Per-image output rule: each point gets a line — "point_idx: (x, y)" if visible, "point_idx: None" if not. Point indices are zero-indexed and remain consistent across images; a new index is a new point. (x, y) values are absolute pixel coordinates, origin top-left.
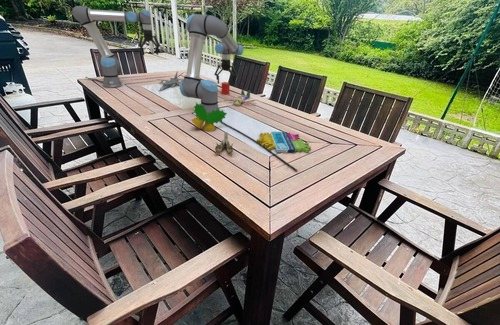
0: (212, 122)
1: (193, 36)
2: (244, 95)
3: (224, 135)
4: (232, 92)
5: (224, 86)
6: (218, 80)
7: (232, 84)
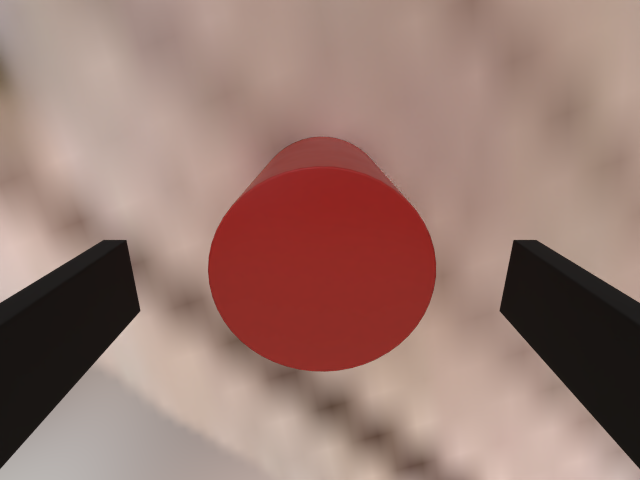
0: None
1: None
2: None
3: None
4: None
5: (329, 157)
6: (566, 293)
7: (117, 245)
